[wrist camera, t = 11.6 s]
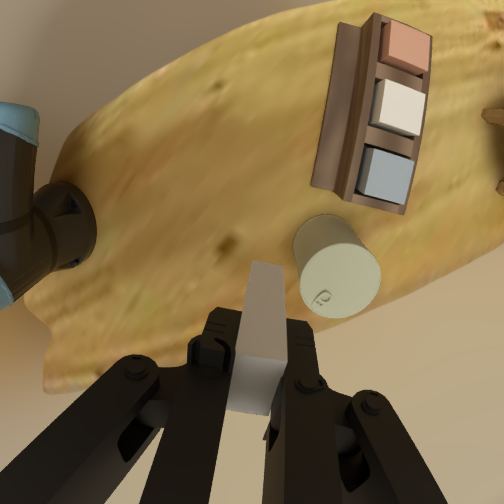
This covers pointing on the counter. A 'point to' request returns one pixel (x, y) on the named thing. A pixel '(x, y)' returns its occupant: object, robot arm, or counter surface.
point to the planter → (500, 118)
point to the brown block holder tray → (361, 114)
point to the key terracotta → (404, 48)
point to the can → (334, 267)
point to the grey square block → (384, 175)
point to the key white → (396, 108)
